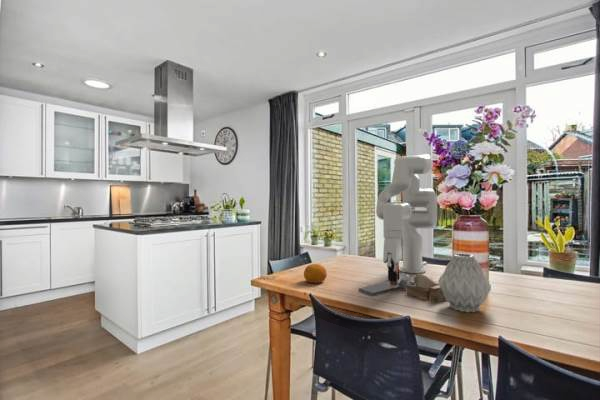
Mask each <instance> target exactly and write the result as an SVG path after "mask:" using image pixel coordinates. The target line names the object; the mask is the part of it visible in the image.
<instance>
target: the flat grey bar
mask: <svg viewBox="0 0 600 400" xmlns="http://www.w3.org/2000/svg"><path fill="white" fill-rule="evenodd" d="M409 284H410V285H414V286H415V281H412V280H410V283H409ZM409 284H408V285H409ZM404 288H406V286H404V285H401V284H400V285H399V286H398V287H397V288H391V287H390V281H383V282H379V283H375V284H370V285H366V286H362V287H358V292H360V293H363V294H366V295H369V296H372V297H374V296H377V295H378V294H379V295H381V294H382V293H383V294H386V293H389V292H394V291H398V290H401V289H404ZM383 294H382V295H383Z"/></svg>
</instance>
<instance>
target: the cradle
mask: <svg viewBox="0 0 600 400" xmlns="http://www.w3.org/2000/svg"><path fill="white" fill-rule="evenodd" d="M433 282H434V283H435V284H436V285H437V286H434V287H430V290H429V289H425V288H421V287H417V286H415V285H410V284H409V285H406V287H405V288H406V289H405V290H406V291H405V292H406V295H409V296H411V297H415V298H418V299H421V300H426V301H427V300H429V301H430V302H432V303H438V302H441V301H444V300H446V299H445V296H444V294H443V291H442V290H441V287H440V285H439V282H437V281H433Z"/></svg>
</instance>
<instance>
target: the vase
mask: <svg viewBox="0 0 600 400" xmlns="http://www.w3.org/2000/svg"><path fill="white" fill-rule="evenodd" d="M437 283H439V285H440V287H441V290H442V291H443V294H444V296H445V299H444V300H446V301H447V302H448V303H449V306H450V308H452V309H454V311H459V312H465V313H475V312H479V309H480V307H481V306H483V304H484V303H485V302H486V299H487V297H488V295H489V294H490V292H491V290H492V285H491V283H490V282H489V280H488V278H487V277H486V276H485V274H484V271H483V269H482V266H481V265H480V264H479V263H478V260H477V259H475V255H474V254H473V255H472V254H469V253H455V254H454V253H453V255H452V257H451V258H450V261H449V262H448V263H447V264H446V266H445V268H444V271H443V273H442V275H441V276H440V277H439V279H438V281H437Z"/></svg>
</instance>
